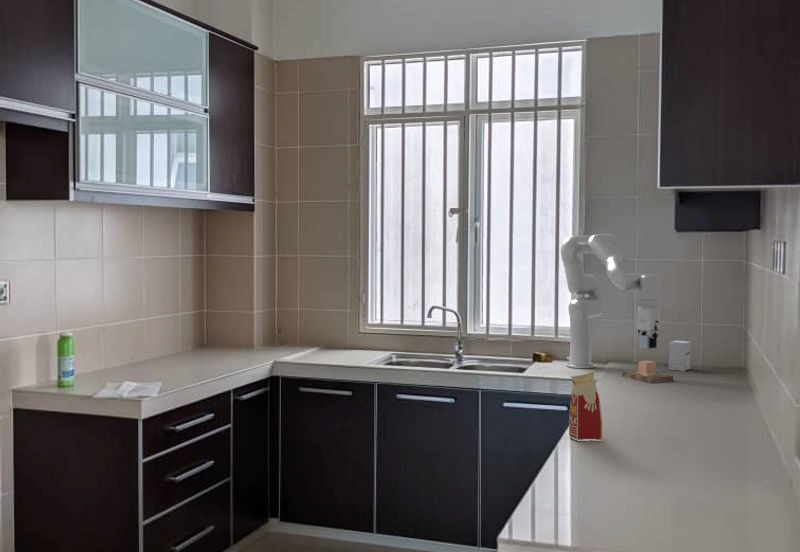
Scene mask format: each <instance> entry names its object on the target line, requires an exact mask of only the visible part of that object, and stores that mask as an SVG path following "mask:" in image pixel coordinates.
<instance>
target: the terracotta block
mask: <svg viewBox="0 0 800 552" xmlns="http://www.w3.org/2000/svg"><path fill="white" fill-rule="evenodd" d="M637 362H638V366H637V367H638V369H637V370H638V373H641V374H645V375H649V374H656V372H657V371H656V370H657V362H656V361H653V360H652V361H651V360H638V361H637Z"/></svg>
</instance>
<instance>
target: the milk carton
mask: <svg viewBox="0 0 800 552" xmlns="http://www.w3.org/2000/svg"><path fill="white" fill-rule="evenodd" d="M570 378H571V380H572V388H571V395H570V402H569V415H568V416H569V417H568V435H570V437H571V438H574V439H577V440H583V439H596V440H602V441H603V425H604V424H603V416H602V415H603V414H602V407H601V405H602V404H601V400H600V399H601V398H600V396H599V392H598V388H597V385H596V380H595V370H591V371H590V372H586V373H583V374H579V375H572V376H570Z"/></svg>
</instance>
